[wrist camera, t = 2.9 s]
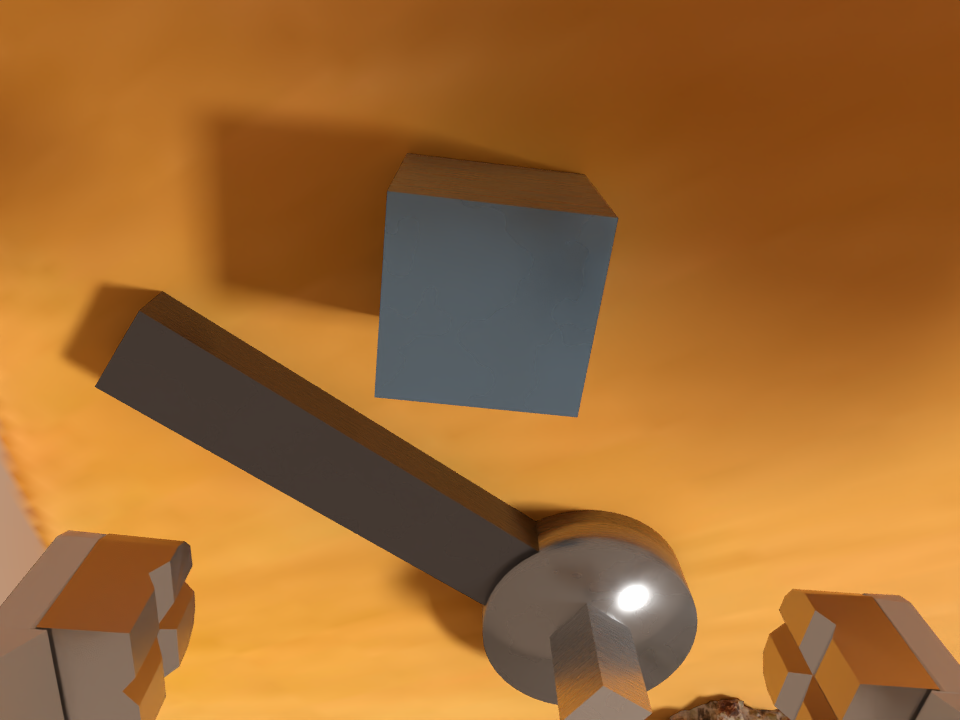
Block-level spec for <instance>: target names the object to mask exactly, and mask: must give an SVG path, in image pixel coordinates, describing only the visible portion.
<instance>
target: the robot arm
mask: <svg viewBox="0 0 960 720" xmlns="http://www.w3.org/2000/svg"><path fill="white" fill-rule="evenodd" d="M191 567H192V558H191V549H190V545H189V544H187V543H186V542H185V541H176V540H166V539H156V538H146V537H136V536H127V535H117V534H107V535H106V534H99V533H89V532H80V531H70V530H68V531H67V532H65V533H63V534H61V535H59V536H57V537H56V538H55V540H54V541H53V542H52V543H51V544H50V546H49V547H48V548H47V549H46V551H45V552H44V553H43V554H42V556H41V557H40V558H39V559H38V561H37V562H36V563H35V564H34V565H33V567H32V568H31V569H30V570H29V572H28V573H27V574H26V575H25V577H24V578H23V579H22V580H21V581H20V583H19V584H18V585H17V586H16V588H15V589H14V590H13V591H12V593H11V594H10V595H9V596H8V597H7V599H6V600H5V601H4V602H3V604H2V605H1V606H0V720H155V719H156V717H157V715H158V713H159V711H160V708H161V706H162V704H163V702H164V700H165V697H166V692H165V681H164V677H165V676H167V675H168V674H169V673H171V672H172V671H173V670H175V669H176V668H178V667H179V666H180V664H181V661H182V659H183V657H184V654H185V652H186V650H187V647H188V644H189V640H190V636H191V632H192V628H193V624H194V614H195V595H194V591H193V590H192V589H191V588H190V587H189V585H188V584H187V583H186V582H185V579H186V577H187V575H188V573H189V571H190V569H191ZM779 611H780V613H781V615H782V617H783V620H784V622H785V623H784V624H783V625H781V626H780V627H778V628H777V629H776V630H774V631H773V632H772V633H770V634H769V637H768V640H767V643H766V646H765V648H764V651H763V674H764V678H765V683H766V687H767V690H768V692H769V695H770V697H771V699H772V701H773V704H774V706H775V707H777V708H778V709H779V710H780V711H781V712H782V713H783V714H785V715H786V716H787V717H788V718H789V719H790V720H960V665H959V664H958V662H957V661H956V660H955V659H954V657H953V656H952V655H951V653H950V652H949V651H948V650H947V648H946V647H945V646H944V645H943V643H942V642H941V641H940V640H939V638H938V637H937V636H936V634H935V633H934V632H933V631H932V629H931V628H930V627H929V626H928V624H927V623H926V622H925V620H924V619H923V618H922V617H921V615H920V614H919V613H918V612H917V610H916V609H915V608H914V606H913V605H912V604H911V603H910V602H909V601H907V600H906V599H904V598H903V597H901V596H899V595H882V594H866V593H864V594H857V593H843V592H828V591H814V590H800V589H792V590H791V591H790V592H789V593H788V594H787V595H786V596H785V597H784V600H783V602H782V604H781V607H780V609H779Z"/></svg>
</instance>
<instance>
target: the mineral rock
mask: <svg viewBox="0 0 960 720" xmlns="http://www.w3.org/2000/svg"><path fill="white" fill-rule="evenodd" d="M743 704H744V701H741V700H739V699H734V700H720V701H710V702H709V703H707V704H703V705H701V706H698V707H695V708H693V709H691V710H683V711H680V712H678V713H677V714H675V715H673V716H671V717H670V720H790V719H789V718H788V717H787V716H786V715H785V714H783V713H782V712H781V711H780V710H779V709H777V710H773V711H769V710H754V709H751V708H748V707H745V706H744V705H743Z"/></svg>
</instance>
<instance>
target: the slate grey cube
mask: <svg viewBox="0 0 960 720" xmlns="http://www.w3.org/2000/svg"><path fill="white" fill-rule="evenodd" d="M617 222H618V217H617V216H616V214H615V213H614V212H613V211H612V209H611V208H610V207H609V205H608V204H607V203H606V201H605V200H604V199H603V198H602V196H601V195H600V194H599V192H598V191H597V190H596V189H595V187H594V186H593V185H592V183H591V182H590V181H589V180H588V178H587V177H586V176H585V175H584V174H575V173H567V172H559V171H550V170H542V169H534V168H525V167H517V166H509V165H500V164H492V163H484V162H475V161H467V160H459V159H450V158H442V157H434V156H425V155H417V154H409V153H407V155H406V157H405V158H404V160H403V162H402V164H401V166H400V168H399V170H398V172H397V174H396V175H395V177H394V179H393V181H392V183H391V185H390V187H389V189H388V190H387V203H386V219H385V235H384V252H383V268H382V284H381V301H380V317H379V333H378V349H377V366H376V382H375V397H378V398H388V399H398V400H409V401H419V402H429V403H439V404H449V405H459V406H469V407H479V408H489V409H499V410H509V411H520V412H530V413H540V414H550V415H560V416H570V417H578V412H579V407H580V402H581V397H582V392H583V387H584V383H585V378H586V373H587V368H588V363H589V358H590V353H591V348H592V344H593V339H594V334H595V329H596V324H597V319H598V314H599V309H600V305H601V300H602V295H603V290H604V285H605V280H606V275H607V271H608V266H609V261H610V256H611V251H612V246H613V241H614V236H615V232H616V227H617Z"/></svg>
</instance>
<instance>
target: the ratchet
mask: <svg viewBox="0 0 960 720" xmlns="http://www.w3.org/2000/svg"><path fill="white" fill-rule="evenodd" d="M95 387H96V388H98V389H100V390H101V391H103V392H105V393H107V394H109V395H110V396H112V397H114V398H116V399H117V400H119V401H121V402H123V403H125V404H126V405H128V406H130V407H132V408H133V409H135V410H137V411H139V412H141V413H142V414H144V415H146V416H148V417H150V418H151V419H153V420H155V421H157V422H158V423H160V424H162V425H164V426H166V427H167V428H169V429H171V430H173V431H174V432H176V433H178V434H180V435H182V436H183V437H185V438H187V439H189V440H190V441H192V442H194V443H196V444H198V445H199V446H201V447H203V448H205V449H206V450H208V451H210V452H212V453H214V454H215V455H217V456H219V457H221V458H223V459H224V460H226V461H228V462H230V463H231V464H233V465H235V466H237V467H239V468H240V469H242V470H244V471H246V472H247V473H249V474H251V475H253V476H255V477H256V478H258V479H260V480H262V481H263V482H265V483H267V484H269V485H271V486H272V487H274V488H276V489H278V490H280V491H281V492H283V493H285V494H287V495H288V496H290V497H292V498H294V499H296V500H297V501H299V502H301V503H303V504H304V505H306V506H308V507H310V508H312V509H313V510H315V511H317V512H319V513H320V514H322V515H324V516H326V517H328V518H329V519H331V520H333V521H335V522H336V523H338V524H340V525H342V526H344V527H345V528H347V529H349V530H351V531H353V532H354V533H356V534H358V535H360V536H361V537H363V538H365V539H367V540H369V541H370V542H372V543H374V544H376V545H377V546H379V547H381V548H383V549H385V550H386V551H388V552H390V553H392V554H393V555H395V556H397V557H399V558H401V559H402V560H404V561H406V562H408V563H410V564H411V565H413V566H415V567H417V568H418V569H420V570H422V571H424V572H426V573H427V574H429V575H431V576H433V577H434V578H436V579H438V580H440V581H442V582H443V583H445V584H447V585H449V586H450V587H452V588H454V589H456V590H458V591H459V592H461V593H463V594H465V595H466V596H468V597H470V598H472V599H474V600H475V601H477V602H479V603H481V604H482V621H483V642H484V647H485V651H486V654H487V657H488V659H489V661H490V663H491V665H492V666H493V667H494V669H495V670H496V672H497V673H498V674H499V675H500V676H501V677H502V678H503V679H504V680H505V681H506V682H507V683H508V684H510V685H511V686H512V687H514V688H515V689H517V690H519V691H520V692H522V693H524V694H526V695H528V696H530V697H532V698H535V699H538V700H541V701H544V702H547V703H552V704H556V705H558V708H559V716H560V720H644V719H646V718H647V717H648V716H649V715H651V714H652V710H651V706H650V702H649V699H648V695H647V691H648V690H650V689H652V688H654V687H655V686H657V685H659V684H660V683H661V682H663V681H664V680H665V679H667V678H668V677H669V676H670V675H671V674H672V673H673V672H674V671H675V670H676V669H677V668H678V667H679V666H680V665H681V664H682V662H683V661H684V660H685V658H686V656H687V655H688V653H689V652H690V649H691V647H692V645H693V643H694V639H695V635H696V631H697V613H696V608H695V605H694V601H693V598H692V596H691V593H690V591H689V588H688V586H687V583H686V580H685V578H684V575H683V573H682V570H681V567H680V565H679V562H678V560H677V558H676V556H675V554H674V552H673V550H672V549H671V547H670V546H669V544H668V543H667V542H666V541H665V540H664V539H663V538H662V537H661V536H660V535H659V534H658V533H657V532H656V531H654V530H653V529H652V528H650V527H649V526H647V525H645V524H643V523H642V522H640V521H638V520H635V519H633V518H630V517H628V516H624V515H621V514H617V513H612V512H606V511H594V510H583V511H571V512H565V513H560V514H556V515H553V516H549V517H546V518H543V519H541V520H538V521H534V520H532V519H531V518H529V517H528V516H526V515H524V514H523V513H521V512H519V511H518V510H516V509H515V508H513V507H511V506H510V505H508V504H506V503H505V502H503V501H502V500H500V499H498V498H497V497H495V496H493V495H492V494H490V493H489V492H487V491H485V490H484V489H482V488H481V487H479V486H477V485H476V484H474V483H472V482H471V481H469V480H468V479H466V478H464V477H463V476H461V475H459V474H458V473H456V472H455V471H453V470H451V469H450V468H448V467H446V466H445V465H443V464H442V463H440V462H438V461H437V460H435V459H434V458H432V457H430V456H429V455H427V454H425V453H424V452H422V451H421V450H419V449H417V448H416V447H414V446H412V445H411V444H409V443H408V442H406V441H404V440H403V439H401V438H399V437H398V436H396V435H395V434H393V433H391V432H390V431H388V430H387V429H385V428H383V427H382V426H380V425H378V424H377V423H375V422H374V421H372V420H370V419H369V418H367V417H365V416H364V415H362V414H361V413H359V412H357V411H356V410H354V409H352V408H351V407H349V406H348V405H346V404H344V403H343V402H341V401H340V400H338V399H336V398H335V397H333V396H331V395H330V394H328V393H327V392H325V391H323V390H322V389H320V388H318V387H317V386H315V385H314V384H312V383H310V382H309V381H307V380H305V379H304V378H302V377H301V376H299V375H297V374H296V373H294V372H292V371H291V370H289V369H288V368H286V367H284V366H283V365H281V364H280V363H278V362H276V361H275V360H273V359H271V358H270V357H268V356H267V355H265V354H263V353H262V352H260V351H258V350H257V349H255V348H254V347H252V346H250V345H249V344H247V343H245V342H244V341H242V340H241V339H239V338H237V337H236V336H234V335H233V334H231V333H229V332H228V331H226V330H224V329H223V328H221V327H220V326H218V325H216V324H215V323H213V322H211V321H210V320H208V319H207V318H205V317H203V316H202V315H200V314H198V313H197V312H195V311H194V310H192V309H190V308H189V307H187V306H186V305H184V304H182V303H181V302H179V301H177V300H176V299H174V298H173V297H171V296H169V295H168V294H166V293H164V292H163V291H162V292H161V293H160V294H159V295H157V296H156V297H155V298H154V299H153V300H151V301H150V302H149V303H148V304H147V305H146V306H144V307H143V308H142V309H141V310H140V311H139V312H138V314H137V316H136V317H135V319H134V321H133V322H132V324H131V326H130V328H129V329H128V331H127V333H126V334H125V336H124V338H123V339H122V341H121V343H120V345H119V346H118V348H117V350H116V351H115V353H114V355H113V357H112V358H111V360H110V362H109V363H108V365H107V367H106V369H105V370H104V372H103V374H102V375H101V377H100V379H99V380H98V382H97V384H96V386H95Z"/></svg>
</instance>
